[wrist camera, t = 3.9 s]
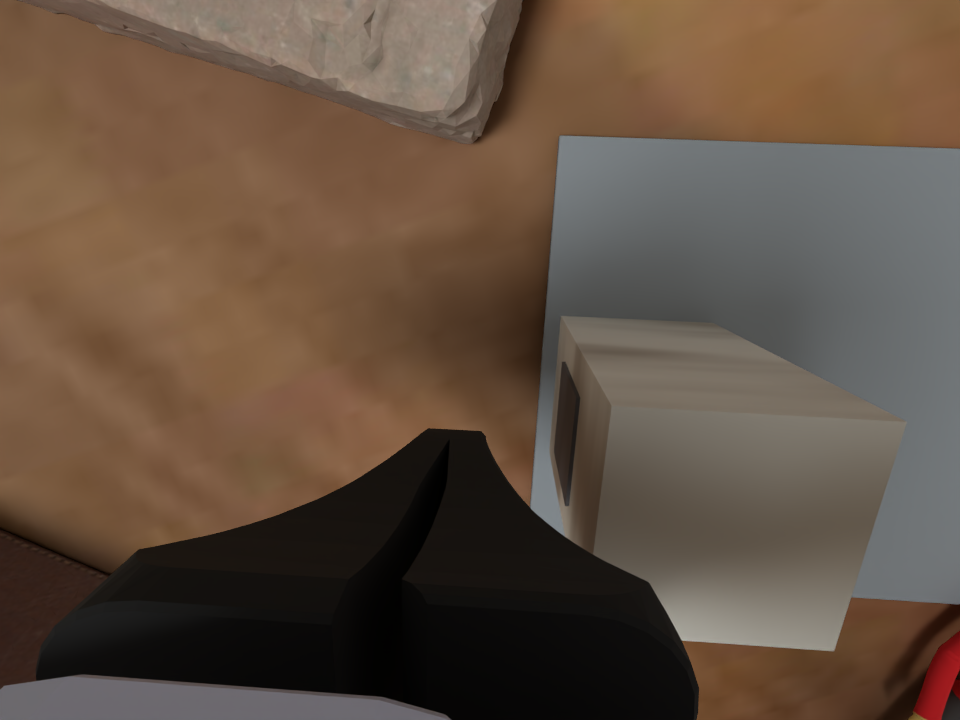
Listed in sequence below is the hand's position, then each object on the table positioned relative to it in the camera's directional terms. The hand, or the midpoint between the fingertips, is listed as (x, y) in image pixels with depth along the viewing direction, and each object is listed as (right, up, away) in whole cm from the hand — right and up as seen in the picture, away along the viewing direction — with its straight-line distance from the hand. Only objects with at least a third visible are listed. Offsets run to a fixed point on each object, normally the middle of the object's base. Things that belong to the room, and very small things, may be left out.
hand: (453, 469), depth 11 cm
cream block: (+6, +1, +6) cm, 8 cm away
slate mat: (+13, +1, +6) cm, 14 cm away
